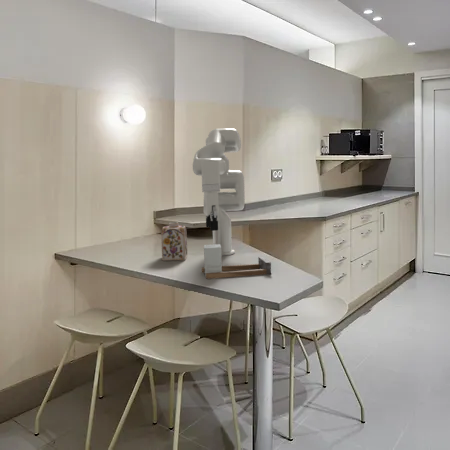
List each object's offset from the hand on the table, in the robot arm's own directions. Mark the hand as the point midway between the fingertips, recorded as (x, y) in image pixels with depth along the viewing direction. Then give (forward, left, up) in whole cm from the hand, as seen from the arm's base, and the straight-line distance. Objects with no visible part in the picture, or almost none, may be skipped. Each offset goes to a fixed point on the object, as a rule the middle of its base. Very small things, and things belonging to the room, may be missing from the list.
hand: (212, 228), depth 211 cm
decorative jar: (-38, -12, -20) cm, 45 cm away
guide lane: (0, +9, -20) cm, 22 cm away
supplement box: (0, 0, -20) cm, 20 cm away
